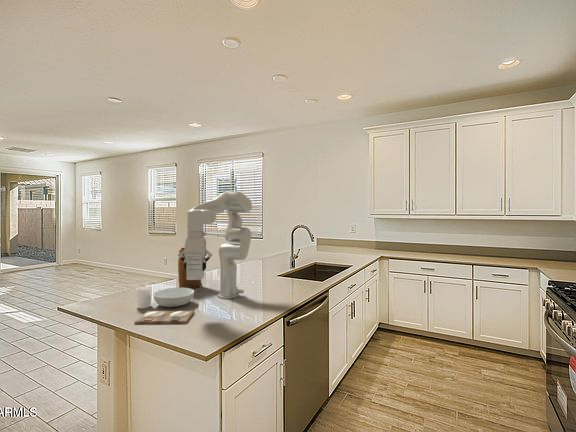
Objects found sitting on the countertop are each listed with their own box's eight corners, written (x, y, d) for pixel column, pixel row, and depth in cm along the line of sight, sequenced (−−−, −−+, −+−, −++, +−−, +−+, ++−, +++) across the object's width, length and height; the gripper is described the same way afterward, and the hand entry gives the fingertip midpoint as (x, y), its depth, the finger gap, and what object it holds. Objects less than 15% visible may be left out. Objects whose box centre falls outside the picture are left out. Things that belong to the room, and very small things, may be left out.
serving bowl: (170, 313, 150) (170, 300, 150) (145, 306, 161) (145, 293, 161) (202, 303, 168) (202, 290, 168) (177, 297, 179) (177, 285, 179)
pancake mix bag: (207, 286, 203) (207, 245, 202) (179, 292, 190) (179, 247, 189) (202, 285, 208) (202, 244, 207) (175, 289, 194) (175, 246, 194)
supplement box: (189, 276, 152) (189, 251, 152) (204, 276, 153) (204, 251, 153) (185, 280, 145) (186, 254, 145) (201, 280, 146) (201, 253, 145)
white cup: (155, 305, 163) (155, 286, 163) (143, 309, 156) (143, 290, 156) (143, 303, 166) (143, 285, 166) (132, 308, 158) (132, 289, 158)
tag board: (194, 313, 151) (194, 309, 151) (186, 323, 137) (186, 320, 137) (147, 313, 150) (147, 310, 150) (134, 324, 136) (134, 320, 136)
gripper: (214, 234, 153) (214, 269, 153) (179, 234, 152) (179, 269, 152) (211, 235, 145) (211, 272, 146) (175, 235, 144) (175, 272, 145)
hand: (195, 270), depth 149 cm, fingers closed on supplement box, 7 cm apart
